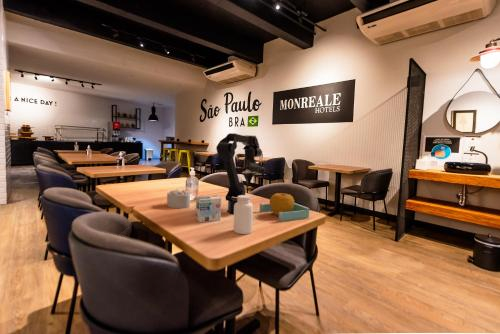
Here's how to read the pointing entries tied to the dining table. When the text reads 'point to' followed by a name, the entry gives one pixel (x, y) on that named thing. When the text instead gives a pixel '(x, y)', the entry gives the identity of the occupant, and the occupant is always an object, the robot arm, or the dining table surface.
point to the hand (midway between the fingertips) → (248, 184)
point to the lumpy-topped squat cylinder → (178, 199)
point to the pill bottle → (243, 215)
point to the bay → (296, 212)
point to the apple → (281, 203)
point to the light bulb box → (208, 208)
